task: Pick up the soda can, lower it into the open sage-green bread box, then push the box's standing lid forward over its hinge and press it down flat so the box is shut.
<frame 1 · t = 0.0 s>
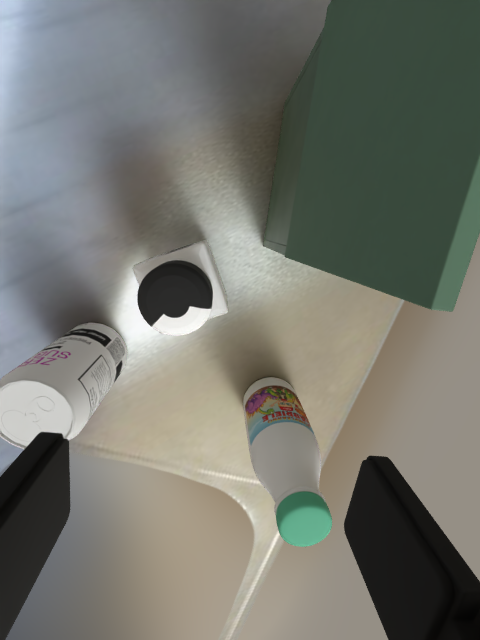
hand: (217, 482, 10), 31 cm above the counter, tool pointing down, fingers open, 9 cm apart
bread box: (333, 187, 37), on the counter
container: (188, 278, 39), on the counter
bread box lid: (368, 105, 14), point 23 cm above the counter, hinge at 85.0°
milk bottle: (269, 398, 45), on the counter
supplement can: (98, 350, 41), on the counter
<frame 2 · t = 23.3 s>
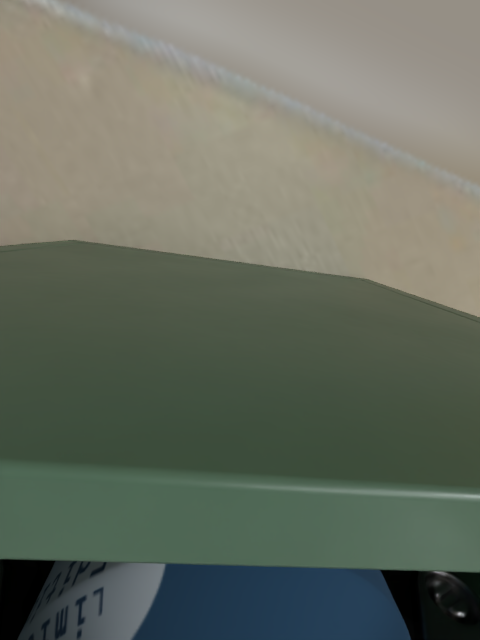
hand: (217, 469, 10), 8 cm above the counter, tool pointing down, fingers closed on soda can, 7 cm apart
bread box: (212, 385, 18), on the counter
soda can: (218, 390, 15), point 3 cm above the counter, touching gripper
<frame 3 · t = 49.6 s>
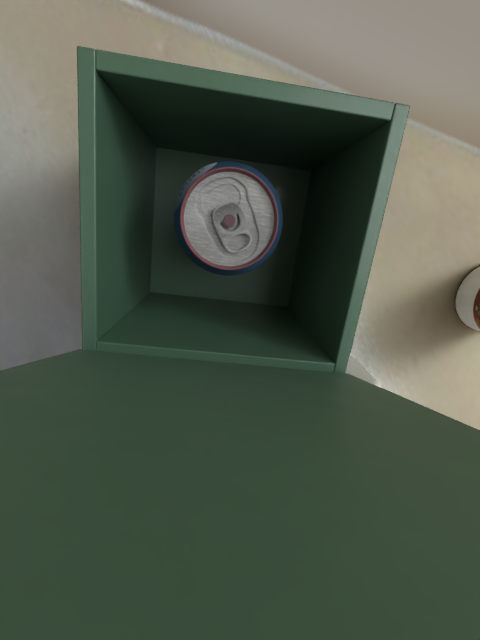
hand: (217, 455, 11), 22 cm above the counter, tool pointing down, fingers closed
bread box: (227, 233, 30), on the counter
container: (322, 388, 36), on the counter
bread box lid: (224, 409, 10), point 23 cm above the counter, hinge at 74.3°
soda can: (225, 223, 30), point 1 cm above the counter, touching bread box
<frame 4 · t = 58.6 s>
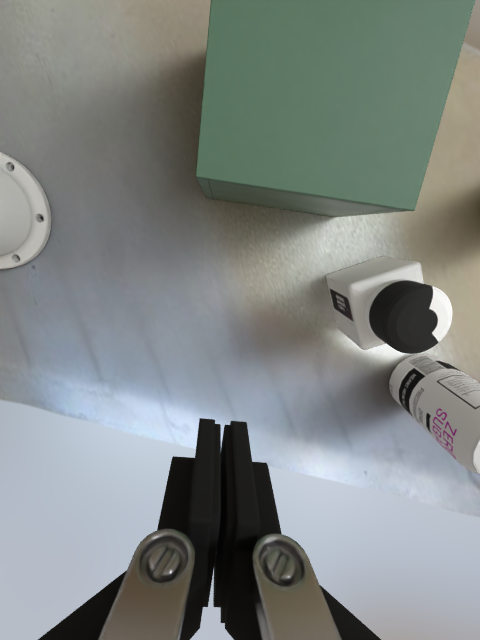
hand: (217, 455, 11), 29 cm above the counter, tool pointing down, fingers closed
bread box: (283, 138, 34), on the counter
container: (359, 293, 40), on the counter
bread box lid: (332, 64, 19), point 15 cm above the counter, hinge at 1.3°
supplement can: (413, 377, 44), on the counter
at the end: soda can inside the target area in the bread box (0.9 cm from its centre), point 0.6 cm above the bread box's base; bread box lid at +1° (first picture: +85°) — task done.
